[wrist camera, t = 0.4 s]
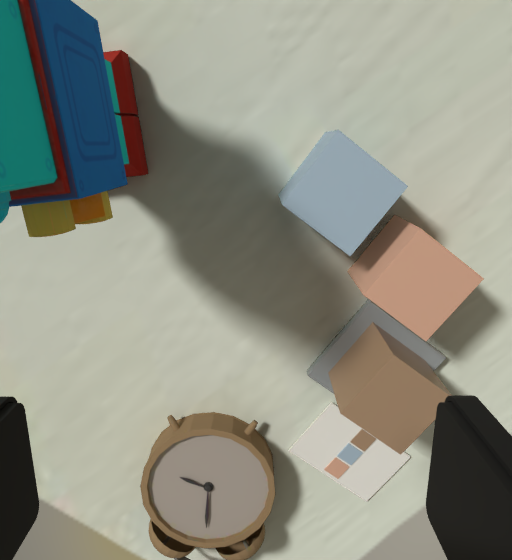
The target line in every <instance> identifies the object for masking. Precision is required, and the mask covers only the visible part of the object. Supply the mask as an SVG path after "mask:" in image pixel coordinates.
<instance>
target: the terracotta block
mask: <svg viewBox="0 0 512 560" xmlns="http://www.w3.org/2000/svg"><path fill="white" fill-rule="evenodd" d="M347 272H348V273H349V275H350V276H351V277H352V279H353V280H354V282H355V283H356V285H357V286H358V288H359V289H360V291H361V292H362V294H363V295H364V296H365V297H367V298H368V299H370V300H371V301H372V302H374V303H375V304H376V305H378V306H379V307H380V308H382V309H383V310H384V311H386V312H387V313H388V314H390V315H391V316H392V317H394V318H395V319H396V320H398V321H399V322H400V323H402V324H403V325H404V326H406V327H407V328H408V329H410V330H411V331H412V332H414V333H415V334H417V335H418V336H419V337H421V338H422V339H423V340H425V341H427V340H428V339H429V338H430V337H431V336H432V334H433V333H434V332H435V331H436V330H437V329H438V328H439V327H440V326H441V325H442V324H443V323H444V321H445V320H446V319H447V318H448V317H449V316H450V315H451V314H452V313H453V312H454V311H455V310H456V308H457V307H458V306H459V305H460V304H461V303H462V302H463V301H464V300H465V299H466V298H467V297H468V295H469V294H470V293H471V292H472V291H473V290H474V289H475V288H476V287H477V286H478V285H479V284H480V282H481V281H482V280H483V279H484V278H482V277H481V276H480V275H479V274H477V273H476V272H475V271H474V270H472V269H471V268H470V267H469V266H467V265H466V264H465V263H464V262H462V261H461V260H460V259H459V258H457V257H456V256H455V255H454V254H452V253H451V252H450V251H449V250H447V249H446V248H445V247H444V246H442V245H441V244H440V243H439V242H437V241H436V240H435V239H433V238H432V237H431V236H430V235H428V234H427V233H426V232H425V231H423V230H422V229H421V228H419V227H417V226H415V225H413V224H412V223H410V222H408V221H406V220H404V219H402V218H400V217H398V216H396V215H394V216H393V217H392V218H391V220H390V221H389V222H388V223H387V224H386V226H385V227H384V228H383V229H382V230H381V232H380V233H379V234H378V235H377V236H376V238H375V239H374V240H373V241H372V242H371V244H370V245H369V246H368V247H367V249H366V250H365V251H364V252H363V253H362V255H361V256H360V257H359V258H358V259H357V261H356V262H355V263H354V264H353V265H352V267H351V268H350V269H349V270H348V271H347Z"/></svg>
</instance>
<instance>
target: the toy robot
mask: <svg viewBox="0 0 512 560" xmlns="http://www.w3.org/2000/svg"><path fill="white" fill-rule="evenodd" d="M135 115H138V110H137V105H136V99H135V93H134V87H133V81H132V76H131V70H130V64H129V58H128V54H126V53H125V52H123V51H122V50H118V51H110V52H103V49H102V43H101V38H100V32H99V27H98V22H97V20H96V19H94V18H93V17H92V16H90V15H89V14H88V13H87V12H85V11H84V10H83V9H81V8H80V7H79V6H77V5H76V4H75V3H73V2H72V1H71V0H0V223H1V222H2V221H3V220H4V219H5V217H6V216H7V214H8V210H9V207H11V206H20V205H21V206H22V210H23V214H24V218H25V222H26V226H27V230H28V234H29V237H45V236H53V235H58V234H63V233H66V232H69V231H72V230H74V229H76V227H75V224H90V223H97V222H102V221H105V220H108V219H111V218H113V216H112V211H111V206H110V201H109V196H108V190H111V189H114V188H117V187H121V186H124V185H127V184H128V183H127V178H126V177H131V176H140V175H146V174H148V169H147V163H146V157H145V151H144V145H143V139H142V134H141V128H140V122H139V117H135Z"/></svg>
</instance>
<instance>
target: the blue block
mask: <svg viewBox="0 0 512 560" xmlns="http://www.w3.org/2000/svg"><path fill="white" fill-rule="evenodd" d="M407 187H408V186H407V185H406V184H405V183H404V182H402V181H401V180H400V179H399V178H397V177H396V176H395V175H394V174H392V173H391V172H390V171H389V170H387V169H386V168H385V167H384V166H383V165H381V164H380V163H379V162H378V161H376V160H375V159H374V158H373V157H371V156H370V155H369V154H368V153H367V152H365V151H364V150H363V149H362V148H360V147H359V146H358V145H357V144H355V143H354V142H353V141H352V140H350V139H349V138H348V137H347V136H346V135H344V134H343V133H342V132H341V131H339V130H335V131H329V132H325V133H324V135H323V136H322V137H321V139H320V140H319V141H318V143H317V144H316V145H315V147H314V148H313V149H312V151H311V152H310V153H309V155H308V156H307V157H306V159H305V160H304V161H303V163H302V164H301V165H300V167H299V168H298V169H297V171H296V172H295V173H294V175H293V176H292V177H291V179H290V180H289V181H288V183H287V184H286V185H285V187H284V188H283V189H282V191H281V192H280V193H279V198H280V201H281V204H282V205H283V206H284V207H286V208H287V209H288V210H290V211H291V212H292V213H294V214H295V215H296V216H298V217H299V218H300V219H301V220H303V221H304V222H305V223H307V224H308V225H309V226H311V227H312V228H313V229H315V230H316V231H317V232H319V233H320V234H321V235H323V236H324V237H325V238H327V239H328V240H329V241H331V242H332V243H333V244H334V245H336V246H337V247H338V248H340V249H341V250H342V251H344V252H345V253H346V254H348V255H349V256H351V255H352V254H353V252H354V251H355V250H356V249H357V248H358V246H359V245H360V244H361V243H362V242H363V240H364V239H365V238H366V237H367V235H368V234H369V233H370V232H371V231H372V229H373V228H374V227H375V226H376V225H377V223H378V222H379V221H380V220H381V219H382V217H383V216H384V215H385V214H386V212H387V211H388V210H389V209H390V208H391V206H392V205H393V204H394V203H395V202H396V200H397V199H398V198H399V197H400V196H401V194H402V193H403V192H404V191H405V189H406V188H407Z"/></svg>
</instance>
